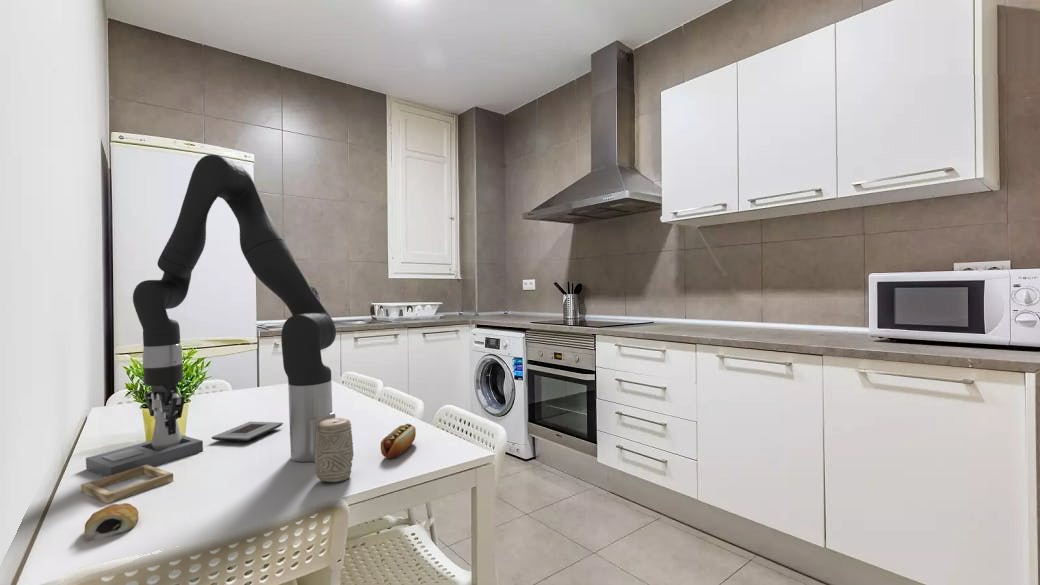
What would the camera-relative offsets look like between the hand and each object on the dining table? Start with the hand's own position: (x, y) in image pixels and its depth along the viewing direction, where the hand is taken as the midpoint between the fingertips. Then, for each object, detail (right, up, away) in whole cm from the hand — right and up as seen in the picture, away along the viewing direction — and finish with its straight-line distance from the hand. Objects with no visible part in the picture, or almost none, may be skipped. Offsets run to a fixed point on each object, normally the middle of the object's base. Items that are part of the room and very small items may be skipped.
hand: (166, 435), depth 113 cm
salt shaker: (0, -4, 0) cm, 4 cm away
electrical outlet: (+13, -5, +13) cm, 18 cm away
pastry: (+16, -6, -34) cm, 38 cm away
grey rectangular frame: (-2, -5, -3) cm, 6 cm away
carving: (+47, -4, -16) cm, 50 cm away
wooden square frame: (+6, -5, -18) cm, 19 cm away
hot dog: (+56, -4, -1) cm, 56 cm away
